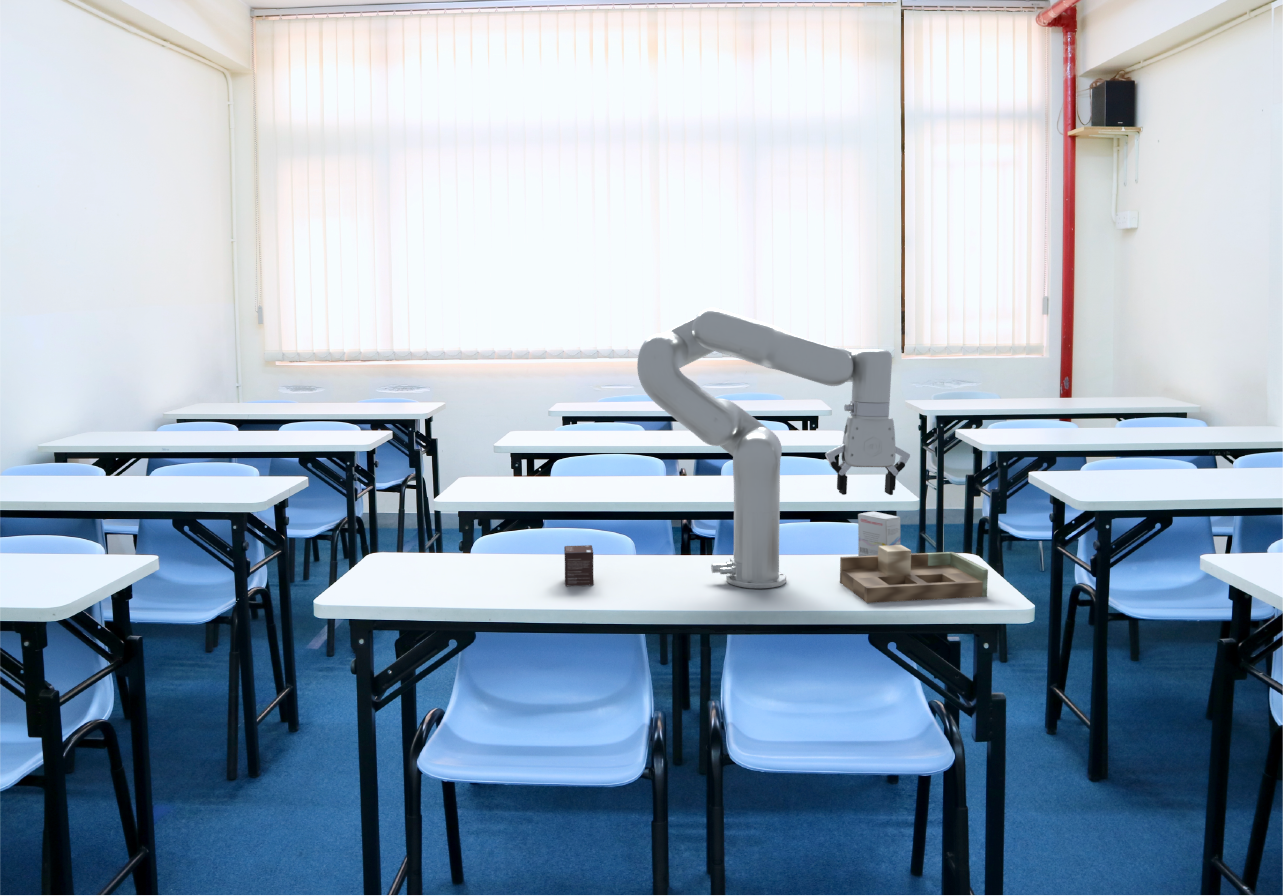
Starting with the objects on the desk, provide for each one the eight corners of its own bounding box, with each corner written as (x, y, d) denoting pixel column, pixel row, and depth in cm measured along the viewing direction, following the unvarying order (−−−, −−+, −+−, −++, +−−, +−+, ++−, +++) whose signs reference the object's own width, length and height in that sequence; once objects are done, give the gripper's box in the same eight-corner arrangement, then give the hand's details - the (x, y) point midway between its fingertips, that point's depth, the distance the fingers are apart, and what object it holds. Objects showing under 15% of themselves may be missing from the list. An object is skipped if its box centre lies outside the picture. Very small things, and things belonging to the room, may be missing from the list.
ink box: (901, 569, 214) (903, 516, 212) (885, 572, 211) (887, 519, 210) (872, 561, 221) (873, 510, 220) (856, 564, 218) (857, 513, 217)
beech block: (887, 575, 197) (887, 551, 197) (877, 569, 202) (878, 545, 202) (910, 574, 198) (911, 550, 198) (900, 568, 203) (901, 544, 202)
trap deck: (866, 603, 189) (867, 575, 188) (839, 582, 204) (840, 557, 203) (986, 596, 192) (988, 569, 192) (952, 577, 207) (952, 551, 206)
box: (564, 579, 208) (564, 545, 207) (592, 578, 209) (592, 544, 208) (565, 586, 202) (564, 552, 201) (593, 585, 203) (593, 551, 202)
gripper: (833, 411, 192) (829, 497, 194) (918, 412, 193) (913, 497, 195) (823, 408, 199) (819, 490, 201) (905, 409, 200) (900, 490, 203)
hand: (865, 493), depth 198 cm, fingers open, 9 cm apart
